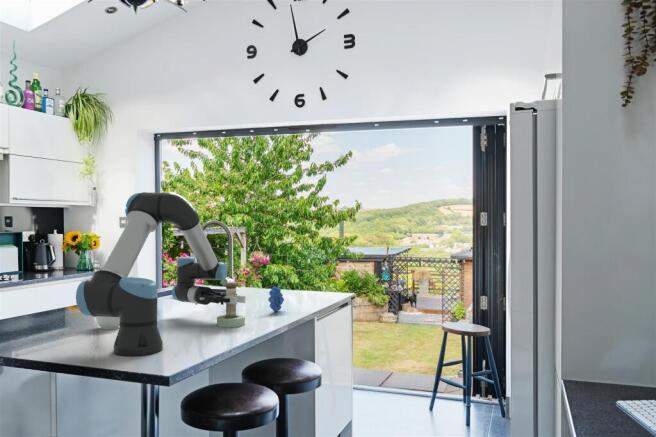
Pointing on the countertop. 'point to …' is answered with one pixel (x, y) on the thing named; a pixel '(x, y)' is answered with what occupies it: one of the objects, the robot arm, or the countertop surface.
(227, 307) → the birch dowel
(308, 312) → the countertop surface
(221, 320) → the pale green ring
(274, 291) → the grapes
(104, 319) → the lidded jar
